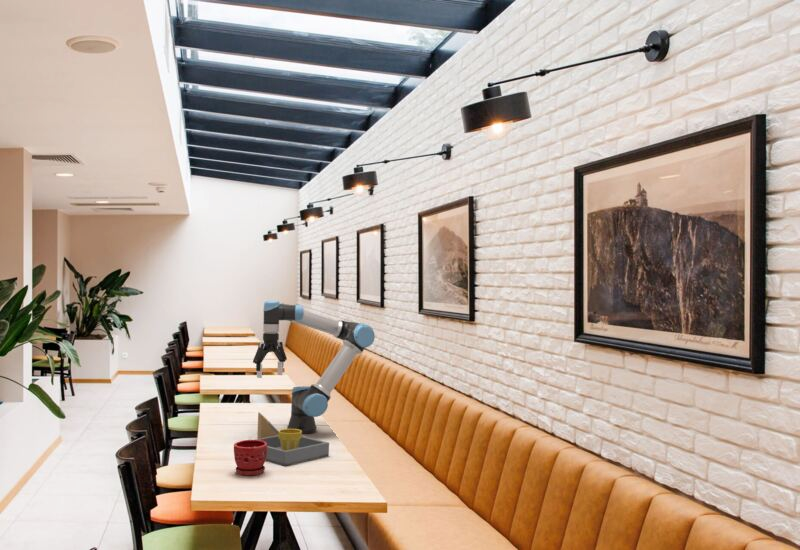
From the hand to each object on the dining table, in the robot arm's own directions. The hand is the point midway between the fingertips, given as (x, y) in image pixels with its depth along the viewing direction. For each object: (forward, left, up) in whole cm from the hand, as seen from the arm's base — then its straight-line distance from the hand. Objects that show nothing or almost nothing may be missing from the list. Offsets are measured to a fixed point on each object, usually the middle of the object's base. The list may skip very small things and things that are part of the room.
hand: (269, 376), depth 348 cm
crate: (+14, +30, -31) cm, 45 cm away
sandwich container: (+4, +10, -31) cm, 33 cm away
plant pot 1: (+44, +41, -31) cm, 68 cm away
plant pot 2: (+13, +30, -30) cm, 44 cm away
